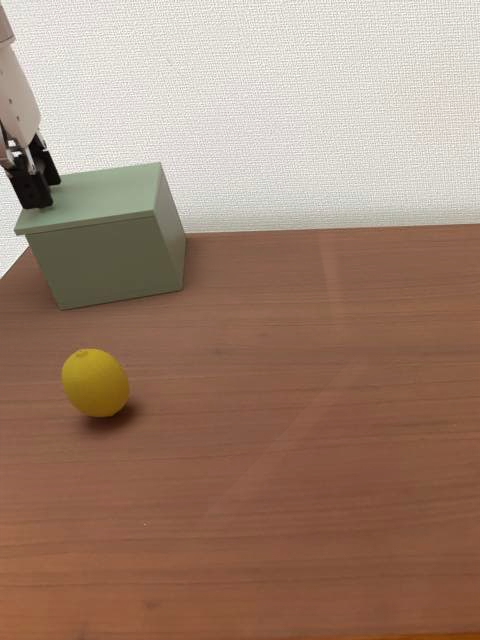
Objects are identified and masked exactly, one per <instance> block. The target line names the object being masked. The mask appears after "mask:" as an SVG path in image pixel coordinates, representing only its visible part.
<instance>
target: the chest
mask: <svg viewBox="0 0 480 640" xmlns="http://www.w3.org/2000/svg"><path fill="white" fill-rule="evenodd" d="M24 237H25V240H26V241H27V244H28V246H29V248H30V250H31V252H32V254H33V256H34V258H35V260H36V263H37V264H38V266H39V268H40V270H41V273H42V275H43V277H44V279H45V281H46V283H47V285H48V287H49V289H50V291H51V293H52V296H53V297H54V299H55V302H56V304H57V305H58V307H59V310H60V311H64V310H71V309H77V308H85V307H89V306H97V305H102V304H108V303H114V302H119V301H125V300H132V299H137V298H143V297H151V296H156V295H160V294H161V295H162V294H167V293H174V292H180V291H183V286H184V274H185V263H186V262H185V260H186V251H187V250H186V248H187V235H186V232H185V229H184V226H183V223H182V220H181V217H180V215H179V211H178V209H177V206H176V203H175V199H174V196H173V194H172V191H171V189H170V186H169V182H168V179H167V177H166V173H165V170H164V168H163V167H162V174H161V181H160V188H159V194H158V201H157V208H156V214H155V216H150V217H144V218H137V219H130V220H123V221H116V222H109V223H102V224H96V225H89V226H82V227H75V228H68V229H61V230H54V231H47V232H41V233H34V234H27V235H24Z"/></svg>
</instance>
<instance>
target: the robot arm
mask: <svg viewBox="0 0 480 640" xmlns="http://www.w3.org/2000/svg"><path fill="white" fill-rule="evenodd" d="M16 41H17V38H16V35H15V33H14V31H13V28H12V26H11V23H10V21H9V18H8V15H7V13H6V11H5V9H4V7H3V5H2V2H1V1H0V167H1V168H3V170H4V174H5V175H6V177H7V179H8V180H9V182H10V184H11V187H12V189H13V191H14V193H15V195H16V197H17V199H18V201H19V204H20V205H21V208H22V209H26V210H28V209H35V208H42V207H49V206H52V205H53V199H52V197H51V194H50V192H49V190H48V188H47V185H46V183H45V181H44V178H43V176H42V174H41V172H40V171H36V169H35V166H34V163H33V160H32V157H38V158H41V159H42V160H43V161H44V162H45V164H46V168H45V171H44V175H45V177H46V180H47V182H48V184H49V186H54V185H59V184H60V183H61V178H60V176H59V175H60V174H59V172H58V169H57V166H56V164H55V162H54V160H53V157H52V155H51V152H50V150H48V145H47V142H46V140H45V138H44V137H43V135H42V133H41V131H40V127H39V126H40V124H41V121H42V120H41V118H42V117H41V111H40V109H39V106H38V105H39V104H38V103H37V100H36V98H35V95H34V93H33V91H32V88H31V86H30V83H29V81H28V79H27V77H26V74H25V72H24V70H23V67H22V66H21V63H20V62H19V60H18V58H17V56H16V53H15V51H14V50H13V47H12V46H11V45H12V44H14V43H15V42H16ZM11 141H12V142H13V143H14V144H15V145H10V144H9V142H11ZM18 152H19V154H18V155H17V156H15V154H13V153H18Z"/></svg>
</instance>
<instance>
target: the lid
mask: <svg viewBox="0 0 480 640" xmlns="http://www.w3.org/2000/svg"><path fill="white" fill-rule="evenodd" d="M32 160H33V163H34V166H35V169H36V171H40V172H41V174H42V176H43V178H44V181H45V183H46V185H47V188H48V190H49V192H50V194H51V197H52V199H53V205H52V206H49V207H42V208H35V209H28V210H26V209H23V208H22V209H21V211H20V214H19V216H18V218H17V220H16V223H15V225H14V227H13V232H14V234H15V236H16V237H19V236H25V235H27V234H34V233H41V232H47V231H54V230H61V229H68V228H75V227H82V226H89V225H96V224H102V223H109V222H116V221H123V220H130V219H137V218H144V217H150V216H155V214H156V208H157V201H158V194H159V188H160V181H161V174H162V168H163V165H162V162H161V161H156V162H149V163H141V164H134V165H125V166H118V167H112V168H111V167H110V168H105V169H104V168H103V169H95V170H89V171H81V172H72V173H65V174H59V176H60V178H61V183H60V184H59V185H54V186H49V184H48V182H47V180H46V177H45V175H44V171H45V168H46V164H45V162H44V161H43V160H42V159H41V158H38V157H32Z"/></svg>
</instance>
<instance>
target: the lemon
mask: <svg viewBox="0 0 480 640" xmlns="http://www.w3.org/2000/svg"><path fill="white" fill-rule="evenodd" d="M60 377H61V379H60V380H61V385H62V388H63V391H64V394H65V396H66V398H67V399H68V401H69V402H70V404H71V405H72V406H73V407H74V408H75V409H76V410H78V412H80V413H82V414H83V415H86V416H89V417H92V418H93V417H95V418H105V417H113V416H115V414H116V413H117V412H119V411H120V410H122V408H124V406H125V405H126V403H127V402H128V399H129V397H130V389H131V388H130V382H129V378H128V375H127V373H126V371H125V369H124V368H123V366H122V365H121V364H120V363H119V361H118V360H117V359H116V358H115V357H114V356H113V355H112V354H110V353H109V352H106V351H105V350H102V349H98V348H97V349H96V348H84V349H83V348H81V349H78V350H77V351H76V352H74V353H73V354H71V355H70V356H69V357H68V358H67V359H66V360H65V362H64V364H63V366H62V368H61V375H60Z"/></svg>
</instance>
